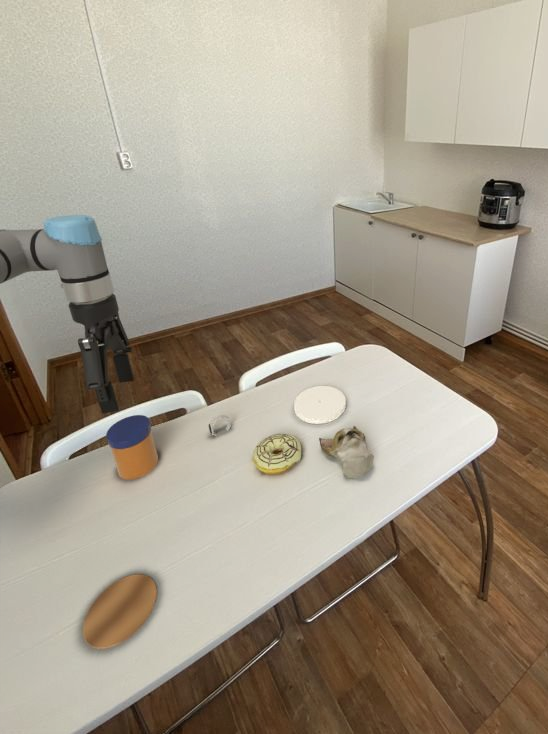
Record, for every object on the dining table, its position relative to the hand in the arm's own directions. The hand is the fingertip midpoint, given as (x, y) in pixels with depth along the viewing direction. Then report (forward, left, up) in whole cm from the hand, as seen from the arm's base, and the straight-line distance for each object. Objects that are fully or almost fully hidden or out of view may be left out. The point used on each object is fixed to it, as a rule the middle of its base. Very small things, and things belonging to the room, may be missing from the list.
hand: (119, 395), depth 80 cm
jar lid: (0, 0, -9) cm, 9 cm away
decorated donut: (+30, +10, -20) cm, 37 cm away
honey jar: (0, 0, -20) cm, 20 cm away
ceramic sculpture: (+46, +14, -20) cm, 52 cm away
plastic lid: (+33, +29, -20) cm, 48 cm away
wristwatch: (+12, +14, -20) cm, 27 cm away
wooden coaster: (+20, -24, -20) cm, 37 cm away
